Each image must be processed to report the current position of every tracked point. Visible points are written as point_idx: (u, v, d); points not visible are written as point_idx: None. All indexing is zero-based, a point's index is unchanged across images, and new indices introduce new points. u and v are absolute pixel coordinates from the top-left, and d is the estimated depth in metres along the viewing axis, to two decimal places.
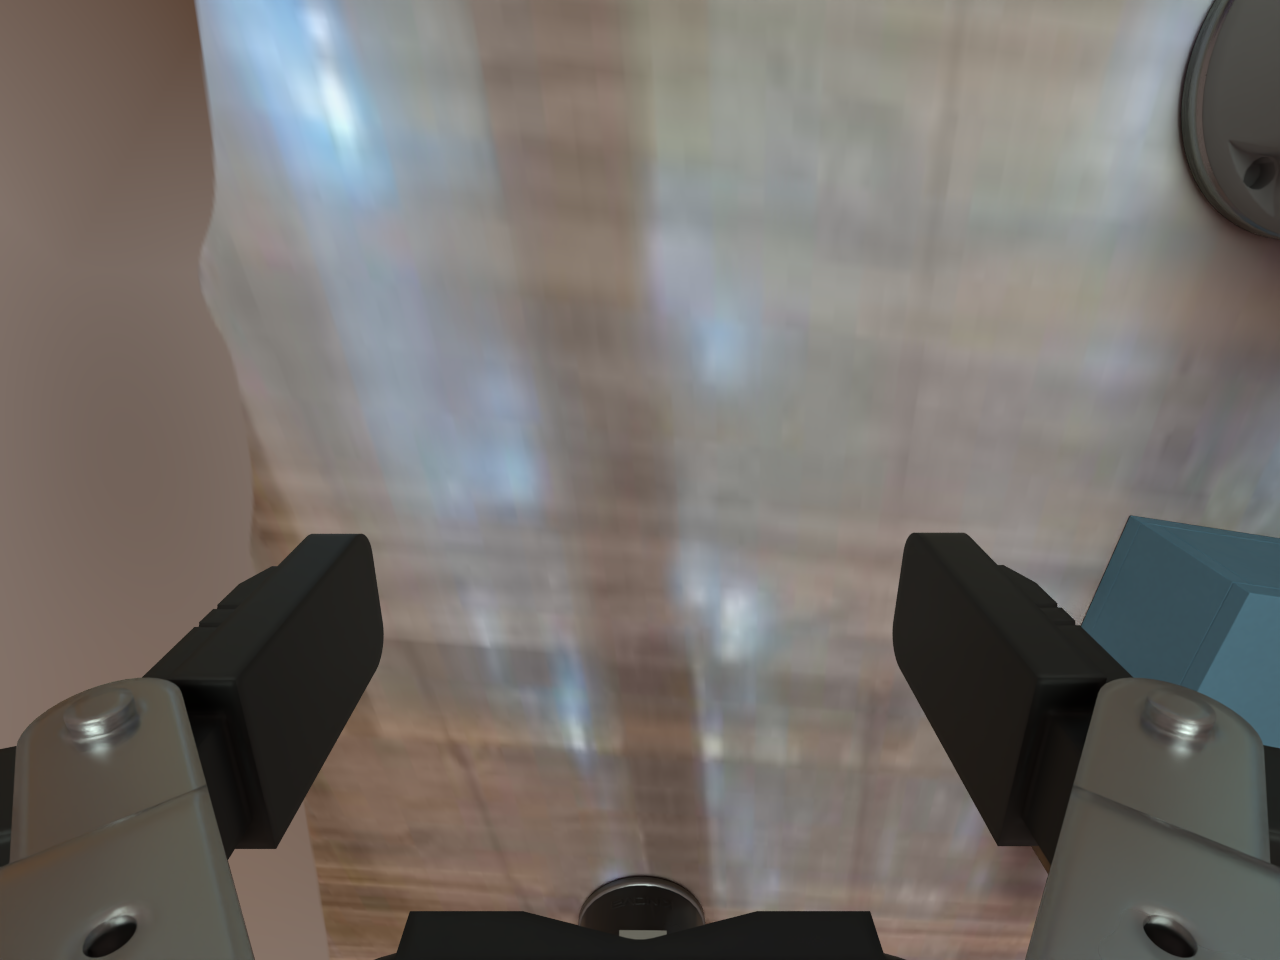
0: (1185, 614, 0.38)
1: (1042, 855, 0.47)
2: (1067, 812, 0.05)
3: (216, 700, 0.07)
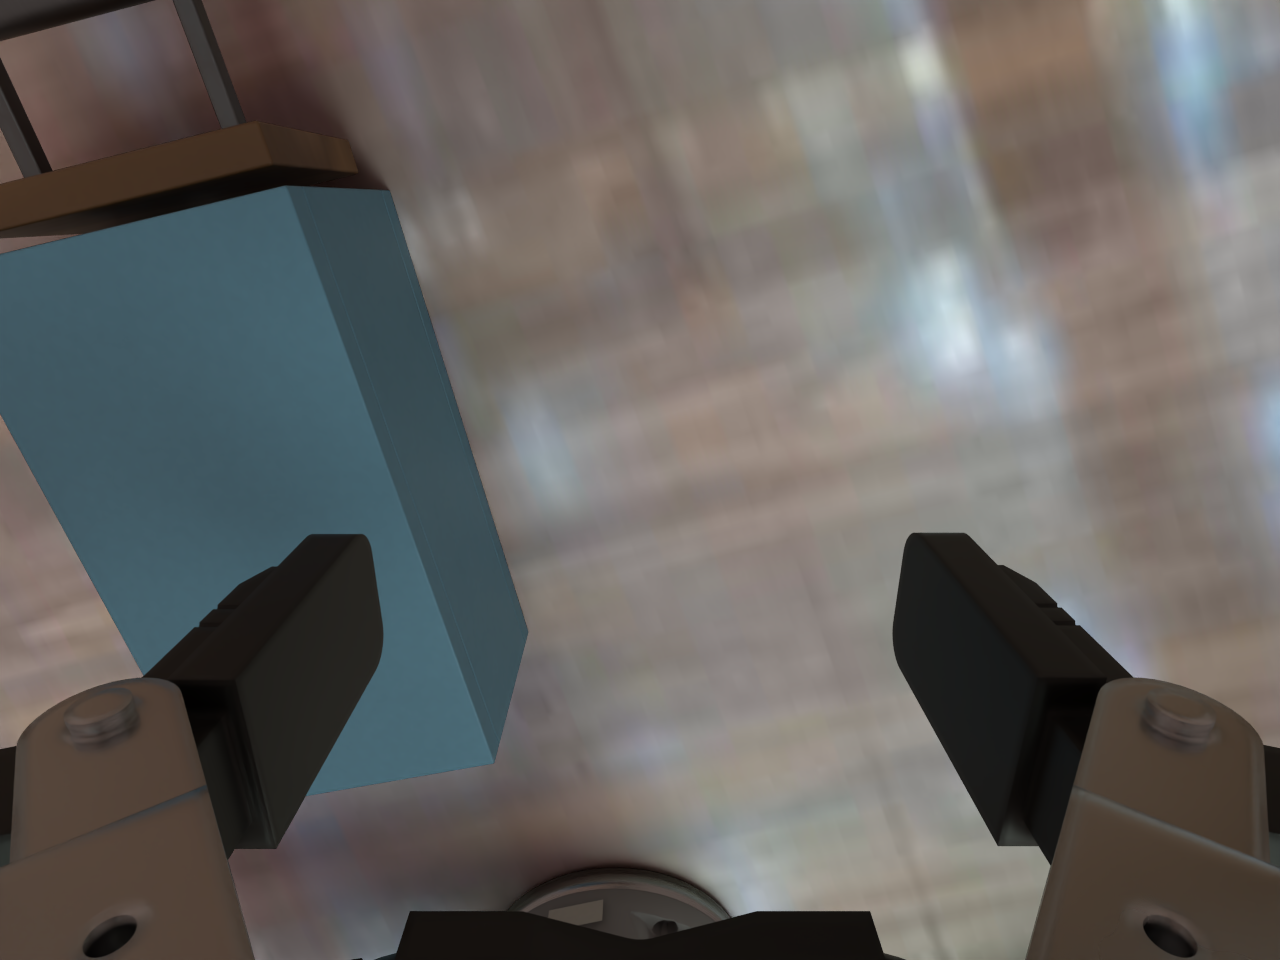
0: (487, 661, 0.29)
1: (316, 147, 0.24)
2: (1067, 812, 0.05)
3: (216, 700, 0.07)
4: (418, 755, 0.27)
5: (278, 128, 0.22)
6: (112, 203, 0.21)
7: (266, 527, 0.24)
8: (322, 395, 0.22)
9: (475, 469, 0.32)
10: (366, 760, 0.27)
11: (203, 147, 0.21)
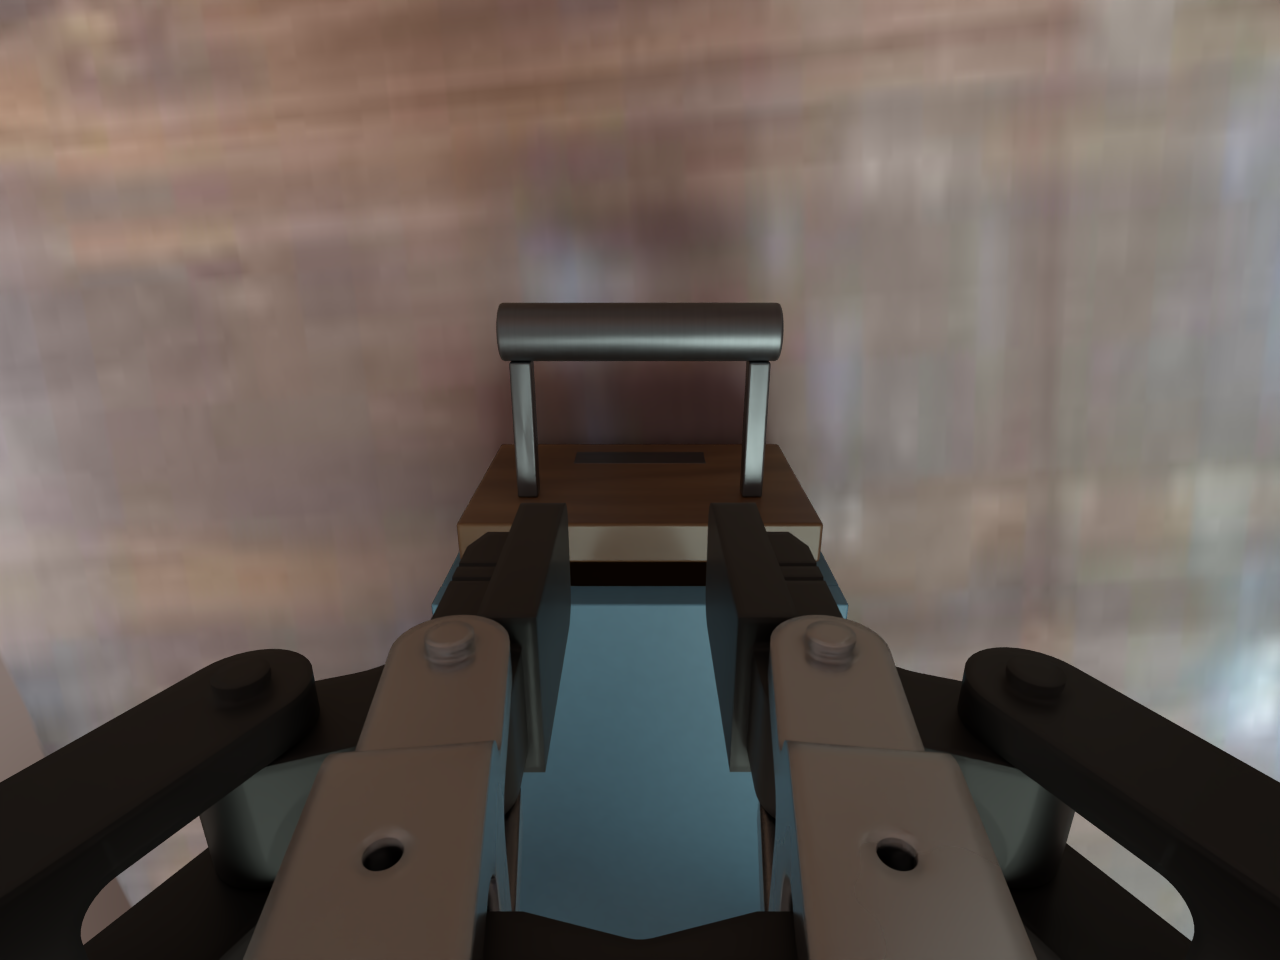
0: None
1: None
2: (791, 771, 0.05)
3: (516, 636, 0.08)
4: None
5: (813, 510, 0.21)
6: (637, 561, 0.20)
7: (671, 872, 0.23)
8: None
9: None
10: None
11: None
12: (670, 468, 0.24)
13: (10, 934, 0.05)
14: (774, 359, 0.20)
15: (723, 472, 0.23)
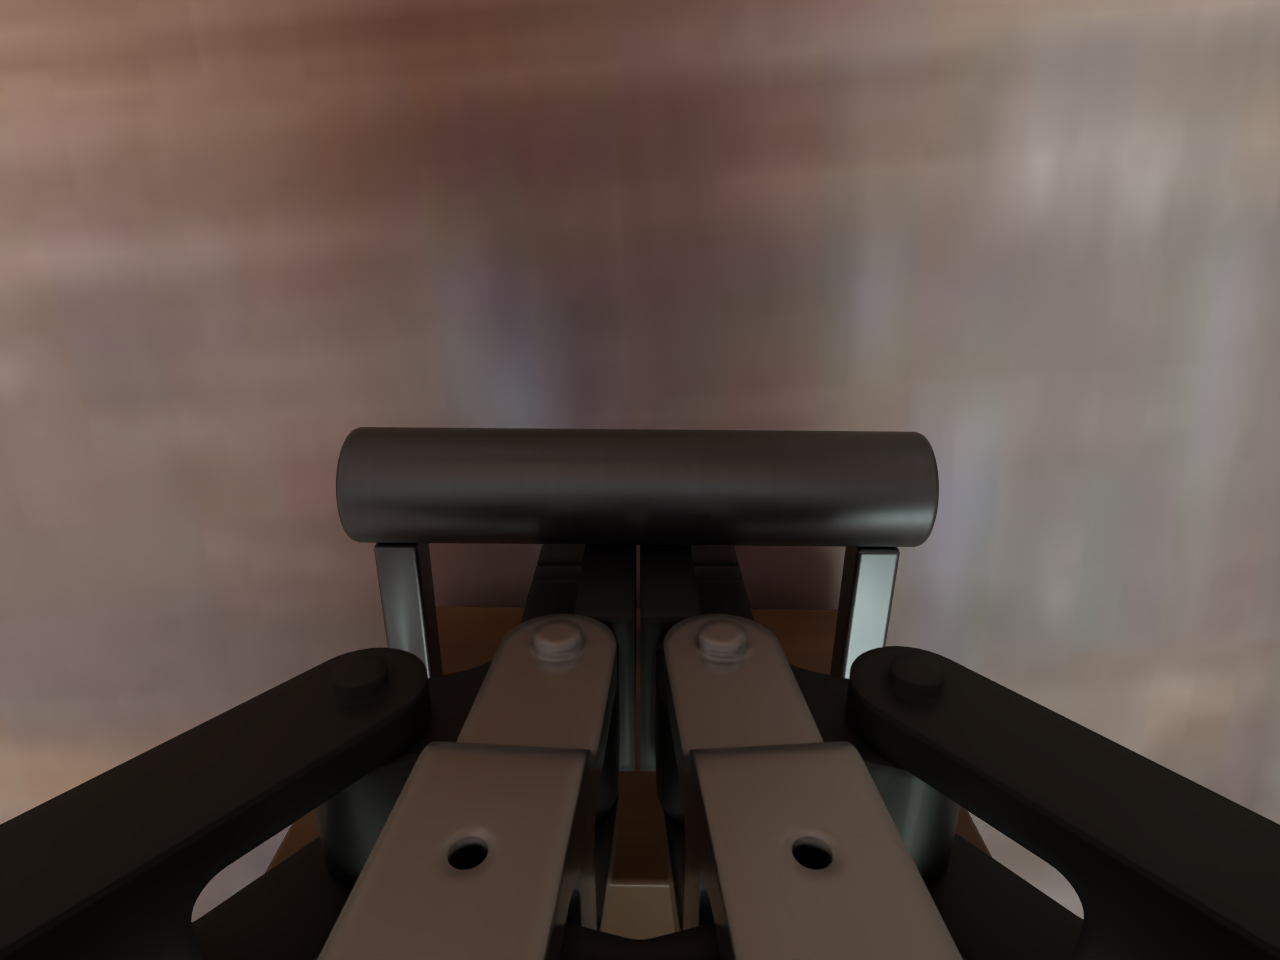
0: None
1: None
2: (701, 781, 0.05)
3: (614, 635, 0.08)
4: None
5: (969, 819, 0.11)
6: None
7: None
8: None
9: None
10: None
11: None
12: None
13: (129, 912, 0.05)
14: (910, 546, 0.10)
15: None
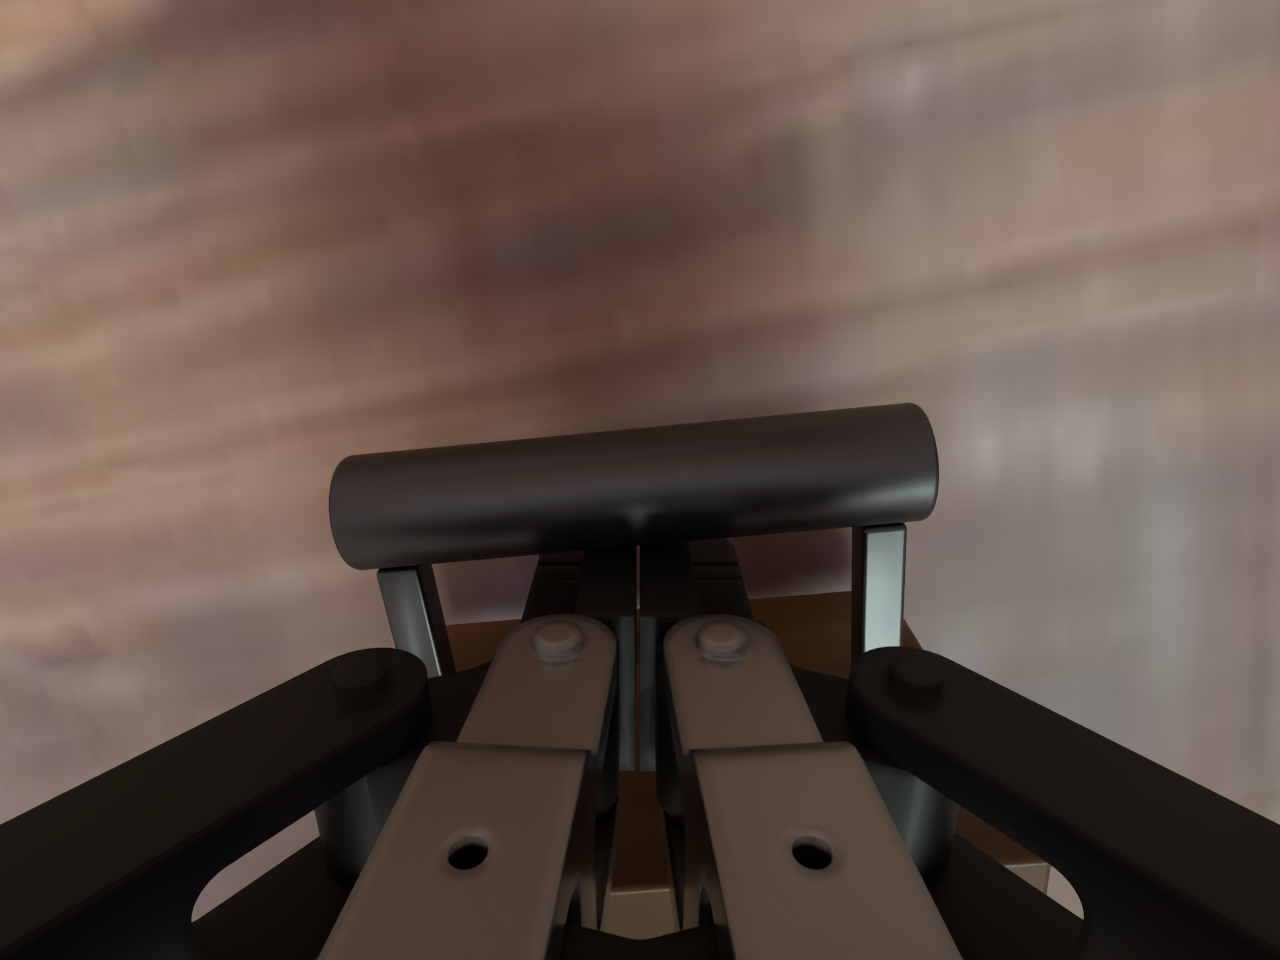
0: None
1: None
2: (701, 782, 0.05)
3: (614, 635, 0.08)
4: None
5: None
6: None
7: None
8: None
9: None
10: None
11: None
12: None
13: (126, 913, 0.05)
14: None
15: None
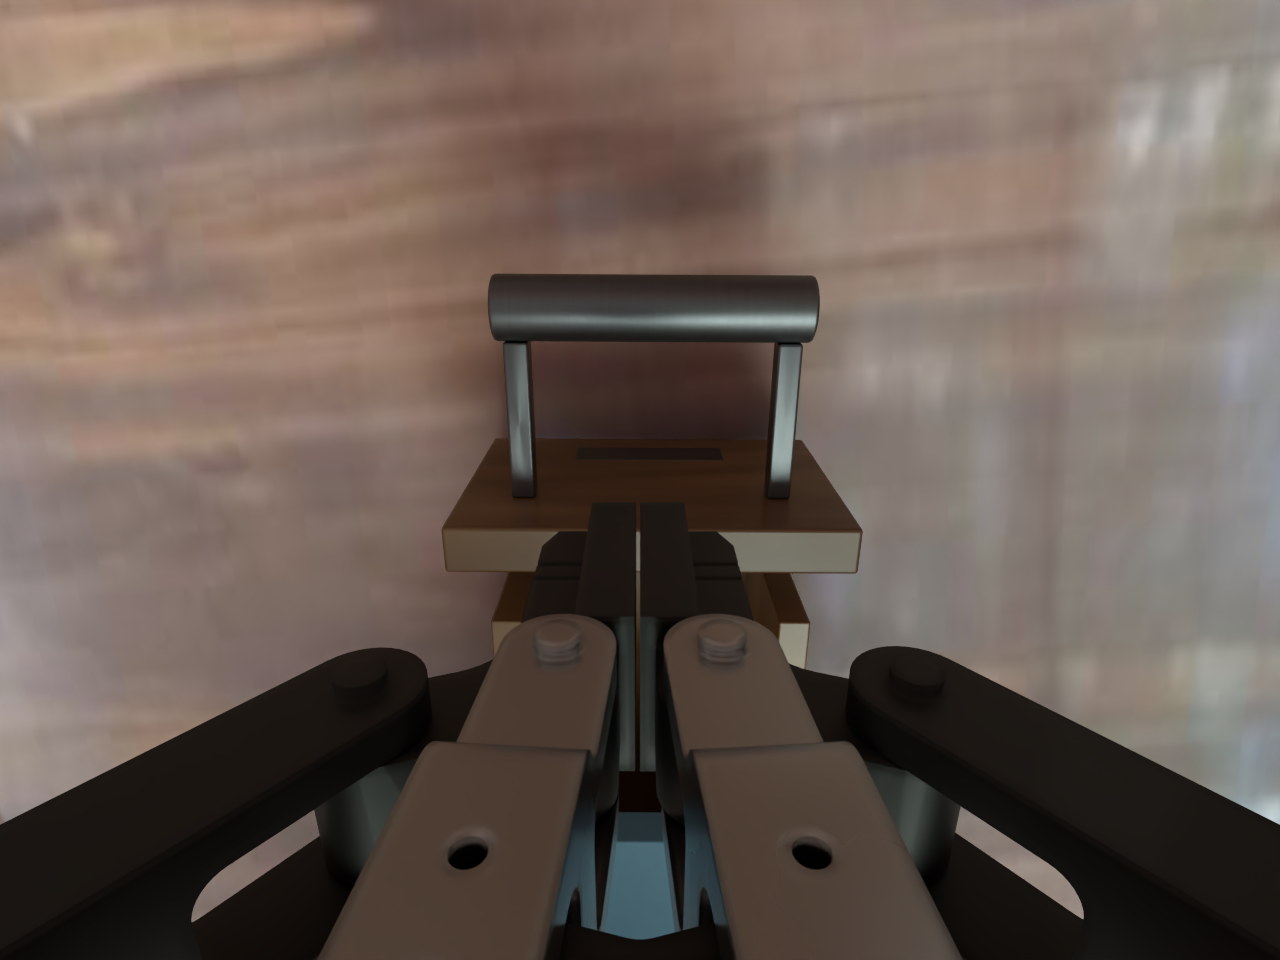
0: None
1: None
2: (701, 781, 0.05)
3: (614, 635, 0.08)
4: None
5: None
6: None
7: None
8: None
9: None
10: None
11: (787, 542, 0.17)
12: (683, 465, 0.21)
13: (128, 911, 0.05)
14: (807, 340, 0.17)
15: (744, 470, 0.21)
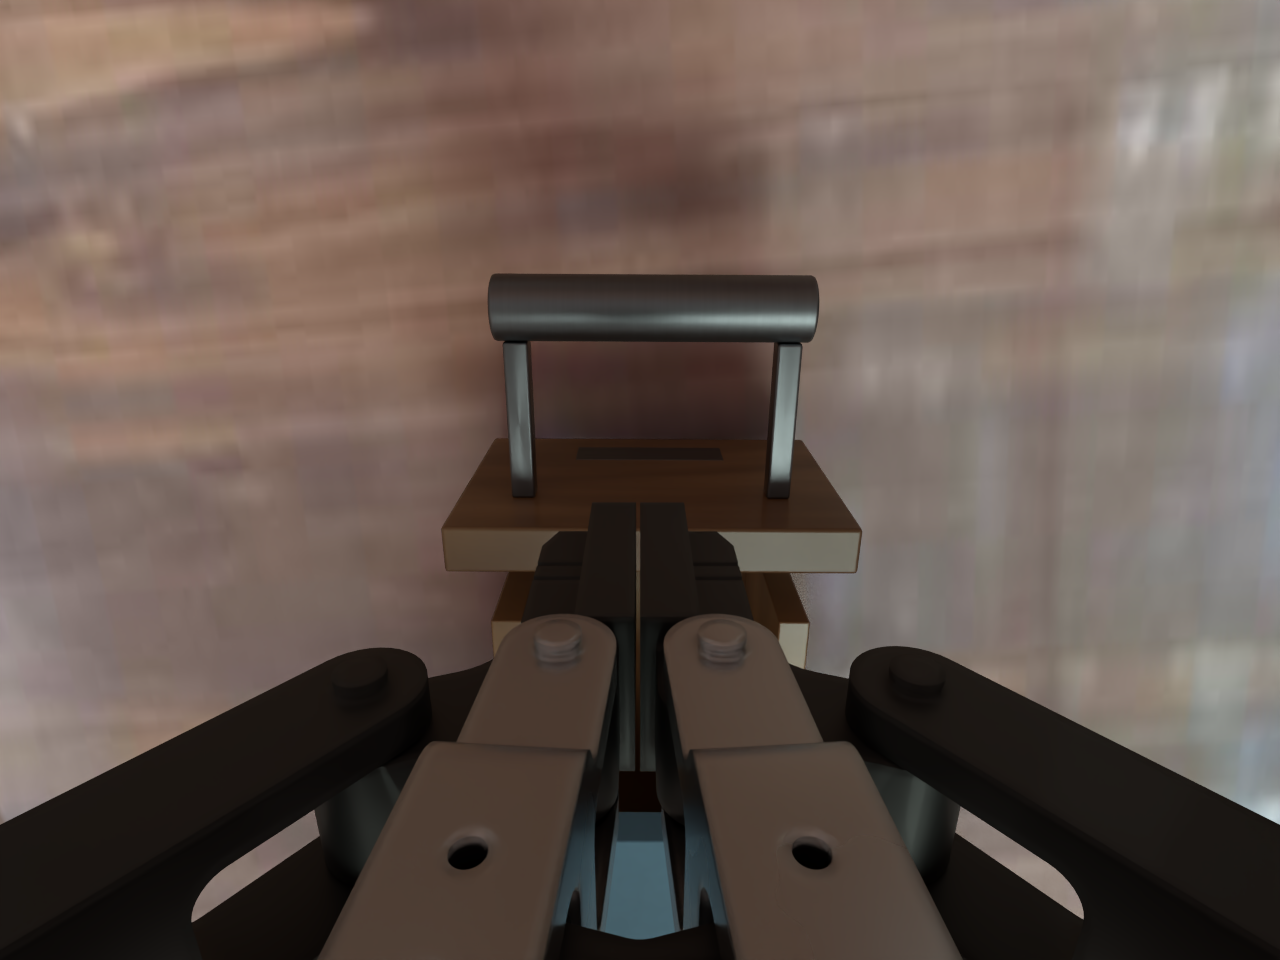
0: None
1: None
2: (701, 781, 0.05)
3: (614, 635, 0.08)
4: None
5: None
6: None
7: None
8: None
9: None
10: None
11: (787, 542, 0.17)
12: (683, 465, 0.21)
13: (128, 911, 0.05)
14: (807, 340, 0.17)
15: (744, 470, 0.21)
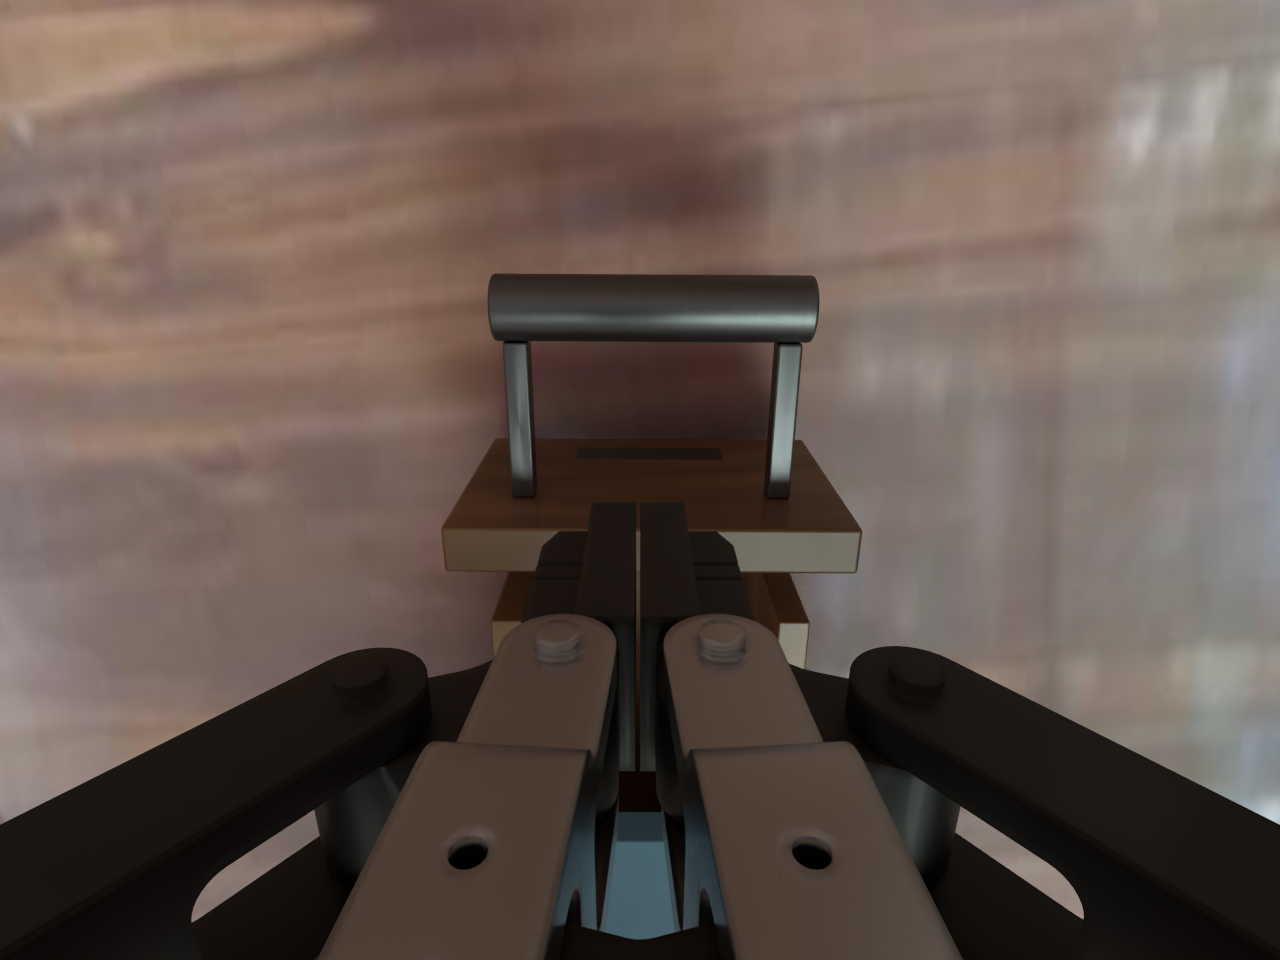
0: None
1: None
2: (701, 781, 0.05)
3: (614, 635, 0.08)
4: None
5: None
6: None
7: None
8: None
9: None
10: None
11: (787, 542, 0.17)
12: (683, 465, 0.21)
13: (128, 911, 0.05)
14: (807, 340, 0.17)
15: (744, 470, 0.21)
